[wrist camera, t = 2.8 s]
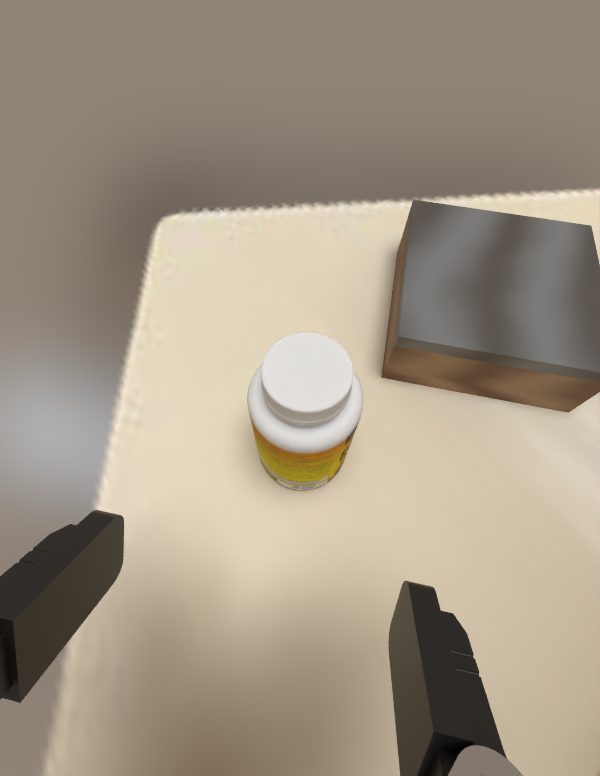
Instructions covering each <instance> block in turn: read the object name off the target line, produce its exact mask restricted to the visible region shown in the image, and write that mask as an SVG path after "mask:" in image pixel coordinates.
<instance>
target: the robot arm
mask: <svg viewBox="0 0 600 776" xmlns="http://www.w3.org/2000/svg"><path fill="white" fill-rule="evenodd" d="M123 550H124V518H123V517H122V516H121V515H117V514H112V513H108V512H104V511H99V510H94V511H93V512H91V513H90V514H89V515H88V516H87V517H85V518H84V519H83V520H82V521H81V522H80V523H79V524H78V525H77V526H76V525H72V524H70V525H68V526H66V527H64V528H62V529H60V530H58V531H56V532H53V533H51V534H50V535H49V536H47V537H46V538H45V539H44V540H43V541H41V542H40V543H39V544H38V545H37V546H35V547H34V548H33V551H30V552H28V554H26V555H25V556H24V557H23V558H21V559H20V561H19V563H16V564H14V565H13V566H12V567H11V568H10V569H9V570H7V571H6V572H5V573H4V574H3V575H2V576H0V699H1V698H5V699H9V700H13V701H16V702H20V703H21V701H22V700H23V699H24V697H25V696H26V695H27V693H28V692H29V691H30V690H31V688H32V687H33V686H34V685H35V683H36V682H37V681H38V680H39V678H40V677H41V676H42V674H43V673H44V672H45V670H46V669H47V668H48V667H49V665H50V664H51V663H52V662H53V660H54V659H55V658H56V656H57V655H58V654H59V653H60V651H61V650H62V649H63V647H64V646H65V645H66V644H67V642H68V641H69V640H70V638H71V637H72V636H73V635H74V633H75V632H76V631H77V630H78V628H79V627H80V626H81V624H82V623H83V622H84V621H85V619H86V618H87V617H88V615H89V614H90V613H91V612H92V610H93V609H94V608H95V606H96V605H97V604H98V603H99V601H100V600H101V599H102V597H103V596H104V595H105V594H106V592H107V591H108V590H109V588H110V587H111V586H112V585H113V583H114V582H115V580H116V579H117V577H118V575H119V573H120V570H121V567H122V564H123ZM473 655H474V654H473V651H472V648H471V645H470V642H469V639H468V635H467V633H466V631H465V630H464V629H463V627H462V626H461V624H460V623H459V621H458V620H457V619H456V617H455V616H454V614H453V613H448V612H444V611H441V610H440V607H439V603H438V599H437V595H436V591H435V589H434V588H433V587H431V586H426V585H422V584H417V583H413V582H409V581H404V583H403V585H402V587H401V591H400V594H399V598H398V601H397V604H396V608H395V611H394V615H393V618H392V621H391V626H390V632H389V658H390V669H391V679H392V690H393V701H394V712H395V723H396V734H397V745H398V756H399V766H400V776H522V774H521V773H520V772H519V771H518V770H517V768H516V767H515V766H514V765H513V764H512V763H511V762H510V761H509V760H507V758H506V755H505V753H504V750H503V747H502V744H501V740H500V737H499V734H498V731H497V728H496V725H495V721H494V718H493V715H492V712H491V709H490V705H489V702H488V699H487V696H486V693H485V689H484V686H483V683H482V680H481V677H479V670H478V667H477V664H476V661H475V659H474V658H473Z"/></svg>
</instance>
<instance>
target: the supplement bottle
mask: <svg viewBox="0 0 600 776" xmlns="http://www.w3.org/2000/svg"><path fill="white" fill-rule="evenodd" d="M247 400H248V409H249V414H250V418H251V422H252V426H253V430H254V434H255V439H256V443H257V447H258V451H259V455H260V459H261V462H262V464H263V466H264V468H265V470H266V471H267V473H268V474H269V475H270V476H271V477H272V478H273V479H274V480H275V481H276V482H278V483H279V484H281V485H283V486H285V487H288V488H291V489H296V490H309V489H314V488H317V487H320V486H322V485H324V484H326V483H327V482H329V481H330V480H331V479H332V478H333V477H334V476H335V475H336V474H337V473H338V471H339V470H340V468H341V466H342V464H343V462H344V459H345V457H346V454H347V451H348V449H349V446H350V443H351V441H352V438H353V435H354V432H355V430H356V428H357V425H358V422H359V420H360V416H361V413H362V408H363V391H362V387H361V384H360V381H359V379H358V377H357V375H356V373H355V372H354V370H353V365H352V362H351V359H350V357H349V355H348V353H347V352H346V350H345V349H344V348H343V347H342V346H341V345H340V344H339V343H338V342H336V341H335V340H333V339H331V338H330V337H327V336H325V335H322V334H318V333H312V332H302V333H295V334H292V335H289V336H286V337H284V338H282V339H280V340H279V341H277V342H276V343H275V344H274V345H272V347H271V348H270V349H269V350H268V351H267V353H266V354H265V356H264V359H263V362H262V364H261V365H260V367H259V368H258V369H257V370H256V372H255V373H254V375H253V377H252V379H251V382H250V385H249V389H248V398H247Z"/></svg>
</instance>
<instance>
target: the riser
mask: <svg viewBox="0 0 600 776" xmlns="http://www.w3.org/2000/svg"><path fill="white" fill-rule="evenodd" d="M382 377H383V378H388V379H394V380H399V381H404V382H410V383H415V384H420V385H426V386H431V387H437V388H442V389H447V390H453V391H458V392H463V393H469V394H474V395H479V396H485V397H490V398H496V399H501V400H506V401H512V402H517V403H522V404H528V405H533V406H539V407H544V408H549V409H555V410H560V411H565V412H570V411H571V410H573V409H574V408H576V407H577V406H579V405H580V404H582V403H584V402H585V401H587V400H588V399H590V398H591V397H593V396H594V395H596V394H597V393H599V392H600V265H599V260H598V255H597V250H596V246H595V241H594V236H593V232H592V227H591V226H589V225H582V224H576V223H569V222H562V221H555V220H548V219H541V218H535V217H528V216H521V215H514V214H507V213H500V212H494V211H487V210H480V209H473V208H466V207H459V206H453V205H446V204H439V203H432V202H425V201H418V200H413V203H412V206H411V209H410V212H409V216H408V219H407V222H406V226H405V229H404V232H403V235H402V239H401V242H400V245H399V249H398V253H397V261H396V269H395V277H394V285H393V292H392V300H391V308H390V316H389V324H388V332H387V340H386V348H385V355H384V363H383V371H382Z"/></svg>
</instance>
